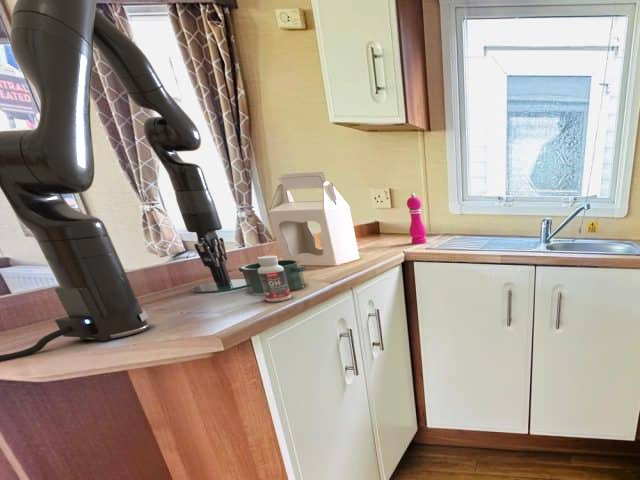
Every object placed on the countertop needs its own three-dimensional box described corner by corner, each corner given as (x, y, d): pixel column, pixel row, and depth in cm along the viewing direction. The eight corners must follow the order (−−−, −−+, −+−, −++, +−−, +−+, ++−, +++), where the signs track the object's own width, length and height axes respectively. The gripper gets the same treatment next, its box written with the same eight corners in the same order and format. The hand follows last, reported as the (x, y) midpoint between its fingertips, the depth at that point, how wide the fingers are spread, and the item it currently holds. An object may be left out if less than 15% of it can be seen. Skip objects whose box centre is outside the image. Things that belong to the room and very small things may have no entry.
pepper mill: (430, 242, 184) (424, 192, 175) (414, 244, 180) (407, 193, 172) (423, 241, 189) (417, 192, 181) (408, 243, 186) (401, 193, 177)
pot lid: (224, 296, 105) (214, 267, 102) (180, 294, 109) (169, 266, 106) (267, 283, 118) (259, 257, 115) (225, 282, 121) (217, 257, 118)
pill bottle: (275, 303, 96) (262, 259, 92) (261, 301, 99) (248, 258, 94) (296, 297, 100) (285, 255, 96) (282, 295, 103) (270, 254, 99)
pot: (290, 295, 102) (283, 269, 100) (228, 294, 107) (219, 269, 104) (324, 283, 114) (318, 259, 111) (267, 282, 118) (260, 259, 115)
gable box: (282, 265, 145) (257, 174, 133) (309, 258, 156) (288, 174, 144) (336, 266, 139) (316, 171, 127) (360, 259, 150) (343, 171, 138)
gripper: (192, 210, 110) (215, 276, 117) (169, 213, 98) (196, 287, 105) (224, 208, 112) (245, 274, 119) (205, 211, 99) (229, 284, 107)
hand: (222, 279), depth 112 cm, fingers closed on pot lid, 3 cm apart
